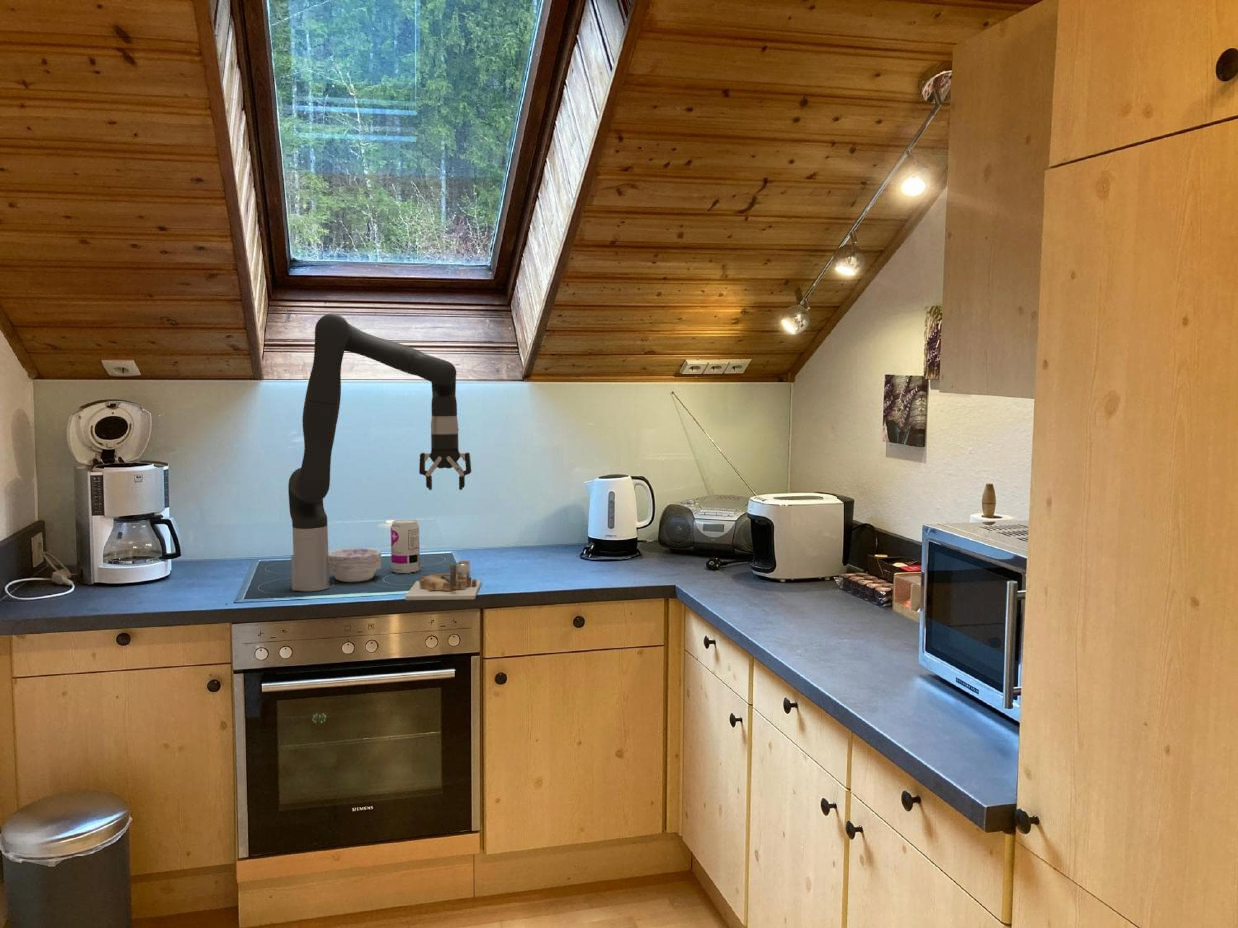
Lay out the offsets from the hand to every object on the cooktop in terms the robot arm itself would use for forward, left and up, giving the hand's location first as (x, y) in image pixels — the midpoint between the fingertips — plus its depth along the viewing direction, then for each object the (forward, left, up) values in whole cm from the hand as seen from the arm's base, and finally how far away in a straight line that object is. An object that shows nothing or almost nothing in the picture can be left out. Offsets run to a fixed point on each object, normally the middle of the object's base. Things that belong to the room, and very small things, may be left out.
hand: (445, 489), depth 289 cm
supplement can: (-14, +14, -26) cm, 33 cm away
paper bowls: (-27, +4, -26) cm, 38 cm away
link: (+6, -11, -23) cm, 26 cm away
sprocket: (+2, -13, -25) cm, 28 cm away
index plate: (+1, -14, -26) cm, 30 cm away
